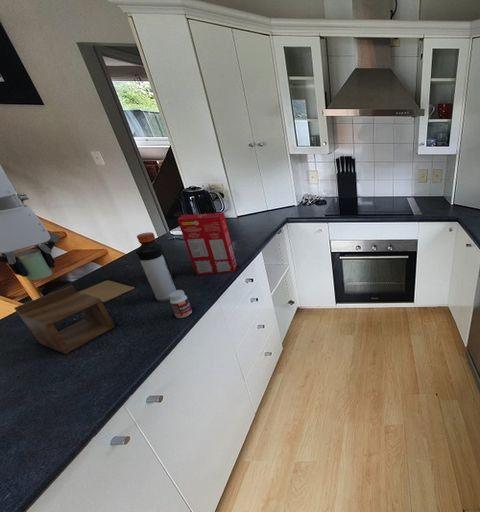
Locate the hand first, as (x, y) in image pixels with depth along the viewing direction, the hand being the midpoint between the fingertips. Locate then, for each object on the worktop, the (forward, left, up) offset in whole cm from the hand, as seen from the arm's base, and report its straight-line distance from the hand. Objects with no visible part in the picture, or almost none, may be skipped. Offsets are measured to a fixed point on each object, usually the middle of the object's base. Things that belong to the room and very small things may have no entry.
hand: (36, 270), depth 72 cm
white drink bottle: (-8, +31, -23) cm, 39 cm away
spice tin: (0, 0, -2) cm, 2 cm away
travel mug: (+5, +23, -23) cm, 33 cm away
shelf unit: (0, 0, -23) cm, 23 cm away
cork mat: (-20, +18, -23) cm, 35 cm away
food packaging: (+6, +45, -23) cm, 50 cm away
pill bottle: (+20, +18, -23) cm, 36 cm away
